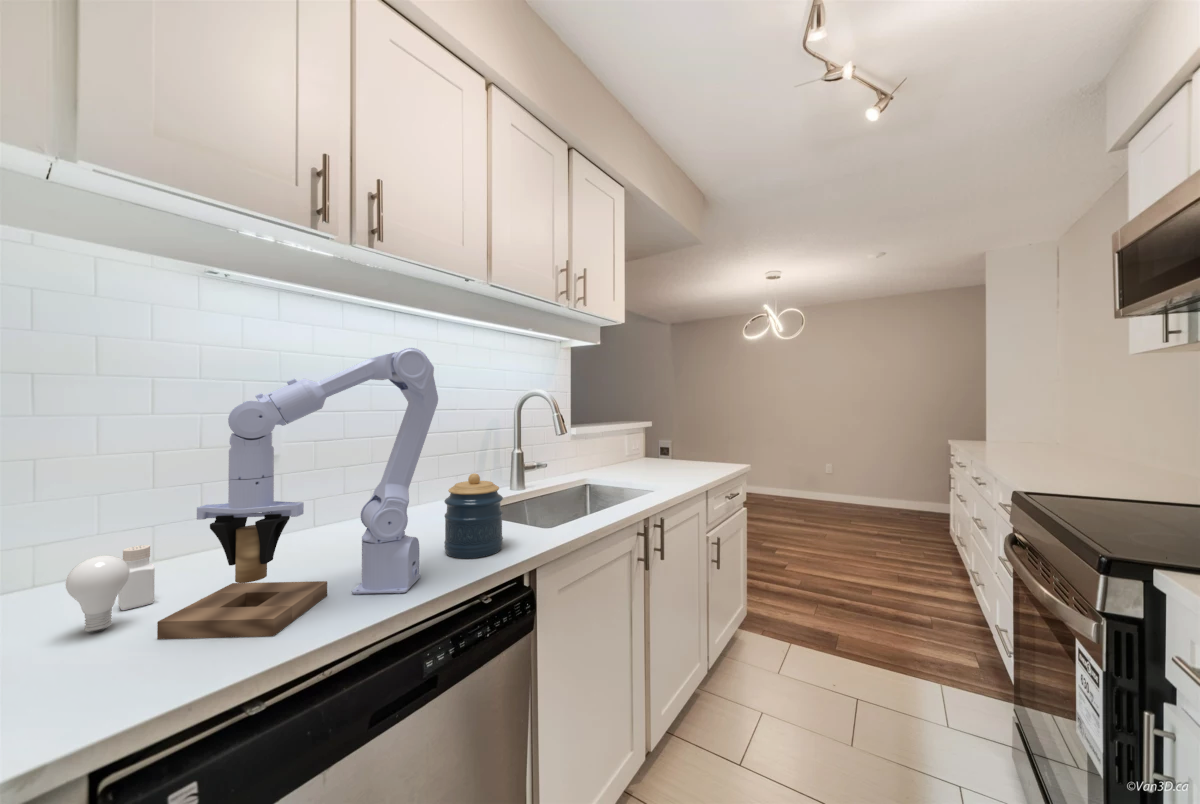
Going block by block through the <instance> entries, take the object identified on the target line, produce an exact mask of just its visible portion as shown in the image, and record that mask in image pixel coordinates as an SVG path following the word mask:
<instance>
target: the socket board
mask: <svg viewBox="0 0 1200 804" xmlns="http://www.w3.org/2000/svg"><path fill="white" fill-rule="evenodd" d="M327 596H328V581H327V580H325V581H324V580H323V581H277V582H276V581H275V582H271V581H268V582H248V583H237V582H233V583H230V584H228V585H225V586H224V587H222V588H221V589H218V590H216V591H215V592H212V593H211V594H208V595H206V596H204V597H203V598H201V599H199V600H196V601H194V602H193V603H190V604H189V605H187V606H185V607H183V608H181V609H179V610H177V611H174V613H171V614H170V615H168V616H166V617H164V618H162V619H160V620H158V621H157V624H156V625H157V626H156V627H157V629H156V630H157V637H156V638H157V640H176V639H177V640H179V639H182V640H183V639H214V638H215V639H217V638H218V639H220V638H251V637H252V638H256V637H258V638H260V637H274V636H276V635H277V634H278V633H280V632H281V631H283V630H284V629H285V628H287V627H288V626H289V625H290V624H292V623H293V622H295V621H296V620H297V619H298V618H300V617H301V616H302V615H303V614H305V613H306V612H308V611H309V610H310V609H312V607H314V606H316V605H317V604H318V603H319V602H321V601H322V600H324V599H325V598H326V597H327Z"/></svg>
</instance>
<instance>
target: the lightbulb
mask: <svg viewBox="0 0 1200 804" xmlns="http://www.w3.org/2000/svg"><path fill="white" fill-rule="evenodd" d="M129 575H130V570H129V566H128V564H127V563H126V562H125V561H124V560H123V558H121V557H119V556H116V555H110V554H104V555H97V556H92V557H89V558H87V559H84V560H83V561H81V562H80V563H78V564H77V565H75V566H74V567H73V568H72V569H71V570H70V572H68V575H67V577H66V579H65V589H66V591H67V593H68V595H69V596H70V597H72V598H73V599H74V601H76V602H78V604H79V606H80V609H81V611H82V613H83V614H84V631H85V632H90V633H97V632H102V631H104V630H105V629H107V628H108V627H109V626H111V625H112V618H113V616H112V615H113V612H112V610H113V607H114V605H115V603H116V599H117V598H118V593H119V592H120V590H121V589H122V588H123V587H124V585H125V584H126V582H127V581H128V578H129Z"/></svg>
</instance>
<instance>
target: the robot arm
mask: <svg viewBox="0 0 1200 804" xmlns="http://www.w3.org/2000/svg"><path fill="white" fill-rule="evenodd" d="M434 371H435V366H434V365H433V364H432V362H431V361H430V359H429V357H428V356H427V355H426V353H424V352H423V351H422V350H421V349H418V348H415V347H405V348H403V349H400V350H399V351H397V352H395V351H392V352H387V353H385V354H381V355H377V356H374V357H370V358H367V359H365V360H363V361H361V362H359V363H356V364H354V365H352V366H349V367H347V368H345V369H343V370H341V371H339V372H336V373H335V374H333V375H332V374H331V375H330V376H327V377H325V378H323V379H320V380H318V381H313V380H310V379H307V378H302V379H299V380H297V378H293V379H290V380H287V382H286V384H287V385H284V386H283V387H280V388H277V389H275V390H273V391H270V392H268V393H265V394H264V393H262V392H259V393H258V394H255V398H256V400H246V401H243V402H242V403H240V404H238V405H237V406H235V407H234V408H233V409H232V410H231V411H230V413H229V415H228V418H227V419H228V421H227V422H228V423H227V424H228V427H229V428H230V430H231V431H232V432H233V433H232V432H231V434H230V437H229V445H230V447H229V449H228V493H227V494H228V502H226V503H217V504H215V503H214V504H204V505H201V506H198V507H196V521H197V520H206V519H215V520H214V521H213V522H211V523H210V524H209V529H210V530H211V532H212V533H213V534H214V535H215V536H216V538H217V539H218V541H219V542H220V545H221V546H222V549H223V551H224V554H225V556H226V560H227V563H228V566H235V559H236V529H237V528H240V527H244V526H247V525H246V524H247V522H248V518H261V517H262V518H261V519H259V520H257V521H255V522H254V525H256V528H257V531H258V536H259V542H260V563H261V564H266V563H267V564H269V563H270V562H271V561H273V559H274V555H275V552H276V548H277V545H278V542H279V539H280V538H281V535H282V532H283V531H284V528H286V526H287V524H288V522H289V521H290V518H294V517H295V518H297V517H300V516H301V515H304V502H302V501H298V502H295V501H294V502H293V501H279V500H277V501H276V500H275V499H274V498H275V497H274V495H275V494H274V492H275V490H274V489H275V485H274V484H275V482H274V481H275V479H274V478H275V474H274V473H275V470H274V468H275V452H274V451H275V449H274V446H273V445H272V443H273V433H272V431H274V429H275V427H276V426H277V425H278V426H279V425H280V426H284V427H285V426H286V425H289V424H290V423H293V422H295V421H298V420H299V419H303V418H304V417H306V416H308V415H311V414H313V413H315V412H317V411H319V410H322V409H323V407H324V405H325V401H326V400H327V398H330V397H331V396H332V397H333V396H334V395H336V394H338V393H341V392H343V391H346V390H348V389H351V388H353V387H355V386H358V385H360V384H362V383H365V382H368V381H370V380H373V381H374V380H375V381H385V380H388V381H390V383H391V384H393V385H394V386H396V387H397V388H398V389H399V390H400V391H401V394H402V395H403V397H405V399H406V401H407V407H406V410H405V412H404V415H403V418H402V420H401V423H400V426H399V429H398V433H397V435H396V437H395V441H394V444H393V446H392V449H391V453H390V455H389V457H388V460H387V463H386V466H385V469H384V471H383V475H382V477H381V480H380V482H379V483H378V484H377V486H376V487H375V489H374V491H373V493H372V496H371V497H370V499H369V500H368V501H367V502H366V503H365V504H364V505H363V507H362V509H361V511H360V521H361V523H362V524H363V526H364V527H365V528H366V529H365V532H364V533H363V534H362V536H361V583H359V584H358V585H357V586H356V587H355V588H353V589H352V590H351V594H355V595H358V594H360V595H361V594H394V593H395V594H398V593H399V594H400V593H403V594H404V593H406V592H408V591H409V590H410V588H412V586H413V585H414V584H415V583H417V581H418V580H419V579H420V578H421V573H420V540H419V538H418V537H416V536H409V535H407V534H406V528H407V526H408V522H409V520H408V519H409V517H408V506H409V504H410V495H409V494H410V492H409V491H410V490H409V489H410V485H411V483H412V480H413V478H414V477H413V476H414V473H415V471H416V468H417V464H418V462H419V460H420V456H421V454H422V450H423V447H424V445H425V441H426V438H427V435H428V432H429V429H430V428H431V423H432V421H433V418H434V415H435V412H436V409H437V407H438V402H439V395H438V391H437V385H436V380H435V376H434V375H435V373H434ZM263 517H264V518H263Z"/></svg>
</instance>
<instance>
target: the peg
mask: <svg viewBox="0 0 1200 804" xmlns="http://www.w3.org/2000/svg"><path fill="white" fill-rule="evenodd" d="M234 566H235V568H234V569H235V574H234V575H235V576H234V581H235V582H234V583H254V582H258V581H260V580H262V579H265V578H267V576H268V563H266V564H261V563H260V542H259V536H258V531H257V528H256V525H255V524H251V525H245V526H244V527H240V528H237V529H236V559H235V565H234Z"/></svg>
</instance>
